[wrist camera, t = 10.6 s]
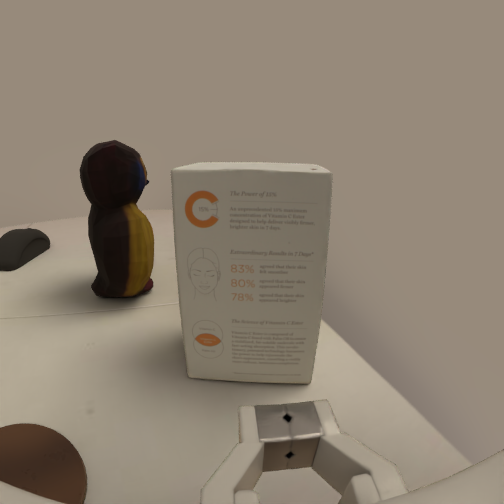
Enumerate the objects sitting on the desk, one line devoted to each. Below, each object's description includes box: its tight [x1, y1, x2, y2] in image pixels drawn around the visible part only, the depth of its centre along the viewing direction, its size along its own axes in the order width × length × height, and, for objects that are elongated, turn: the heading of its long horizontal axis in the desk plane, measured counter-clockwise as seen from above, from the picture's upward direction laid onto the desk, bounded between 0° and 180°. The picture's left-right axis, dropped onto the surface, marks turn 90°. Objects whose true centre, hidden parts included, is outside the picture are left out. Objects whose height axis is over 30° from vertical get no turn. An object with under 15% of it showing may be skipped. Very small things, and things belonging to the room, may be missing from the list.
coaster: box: [0, 424, 87, 504], centre depth 10 cm, size 8×8×1 cm
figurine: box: [80, 140, 154, 297], centre depth 29 cm, size 10×7×15 cm
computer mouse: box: [0, 228, 50, 271], centre depth 39 cm, size 6×11×4 cm, turn 0°
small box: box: [171, 162, 333, 383], centre depth 20 cm, size 8×6×13 cm
